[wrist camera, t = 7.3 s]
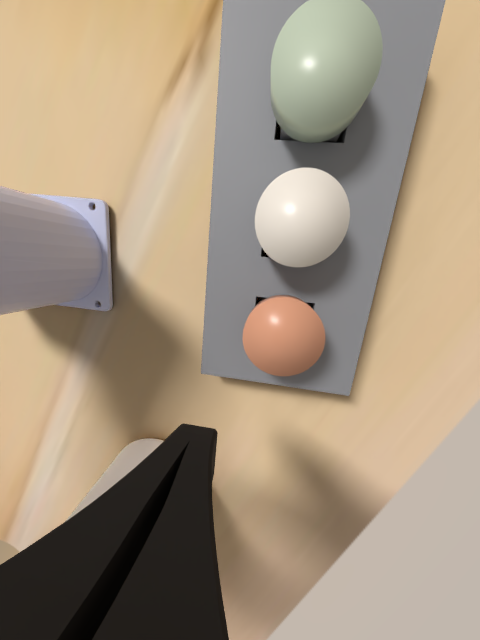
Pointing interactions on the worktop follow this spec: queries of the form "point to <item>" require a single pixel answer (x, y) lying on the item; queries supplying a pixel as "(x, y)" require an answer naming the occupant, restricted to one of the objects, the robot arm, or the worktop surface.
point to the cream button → (302, 217)
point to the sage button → (324, 68)
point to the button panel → (284, 155)
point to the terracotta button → (283, 335)
